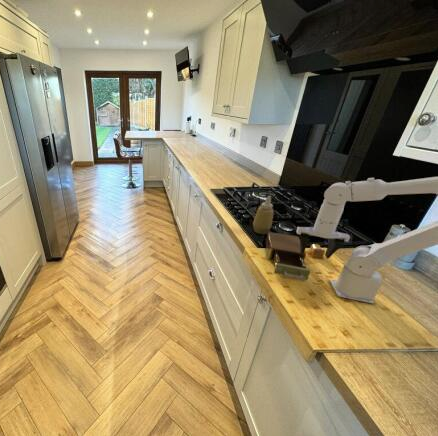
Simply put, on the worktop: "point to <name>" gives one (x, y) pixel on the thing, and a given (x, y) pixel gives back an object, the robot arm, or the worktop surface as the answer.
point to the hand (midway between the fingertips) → (314, 254)
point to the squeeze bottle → (264, 217)
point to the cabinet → (282, 244)
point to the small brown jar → (317, 251)
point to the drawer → (290, 265)
